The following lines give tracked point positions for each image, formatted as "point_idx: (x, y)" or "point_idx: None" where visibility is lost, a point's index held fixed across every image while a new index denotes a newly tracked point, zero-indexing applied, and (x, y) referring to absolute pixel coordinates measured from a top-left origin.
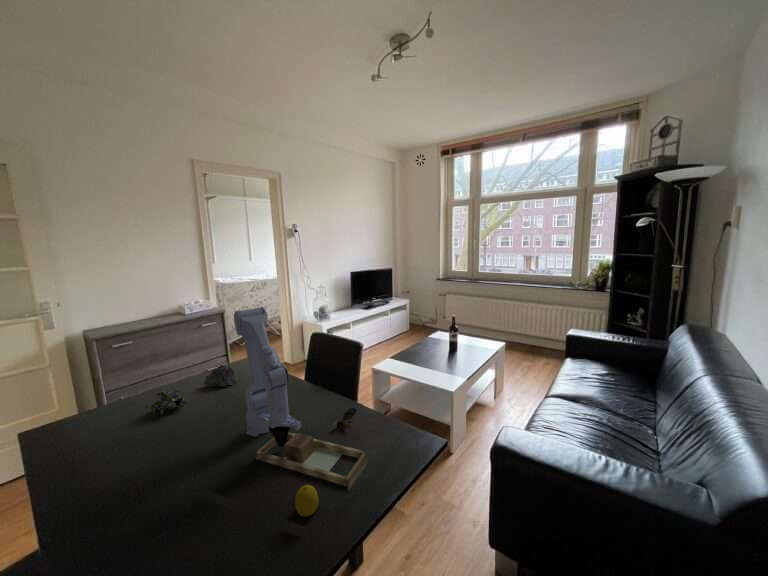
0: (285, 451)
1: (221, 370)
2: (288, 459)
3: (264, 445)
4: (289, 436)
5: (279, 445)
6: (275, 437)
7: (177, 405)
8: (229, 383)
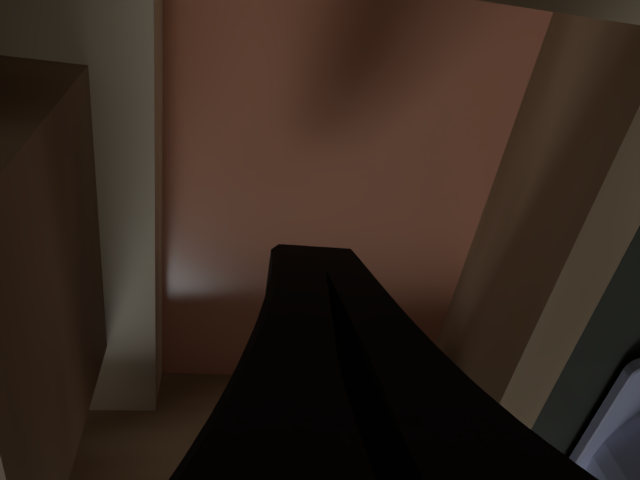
0: (29, 125)
1: None
2: (20, 59)
3: (633, 209)
4: None
5: (321, 263)
6: (440, 389)
7: None
8: None
